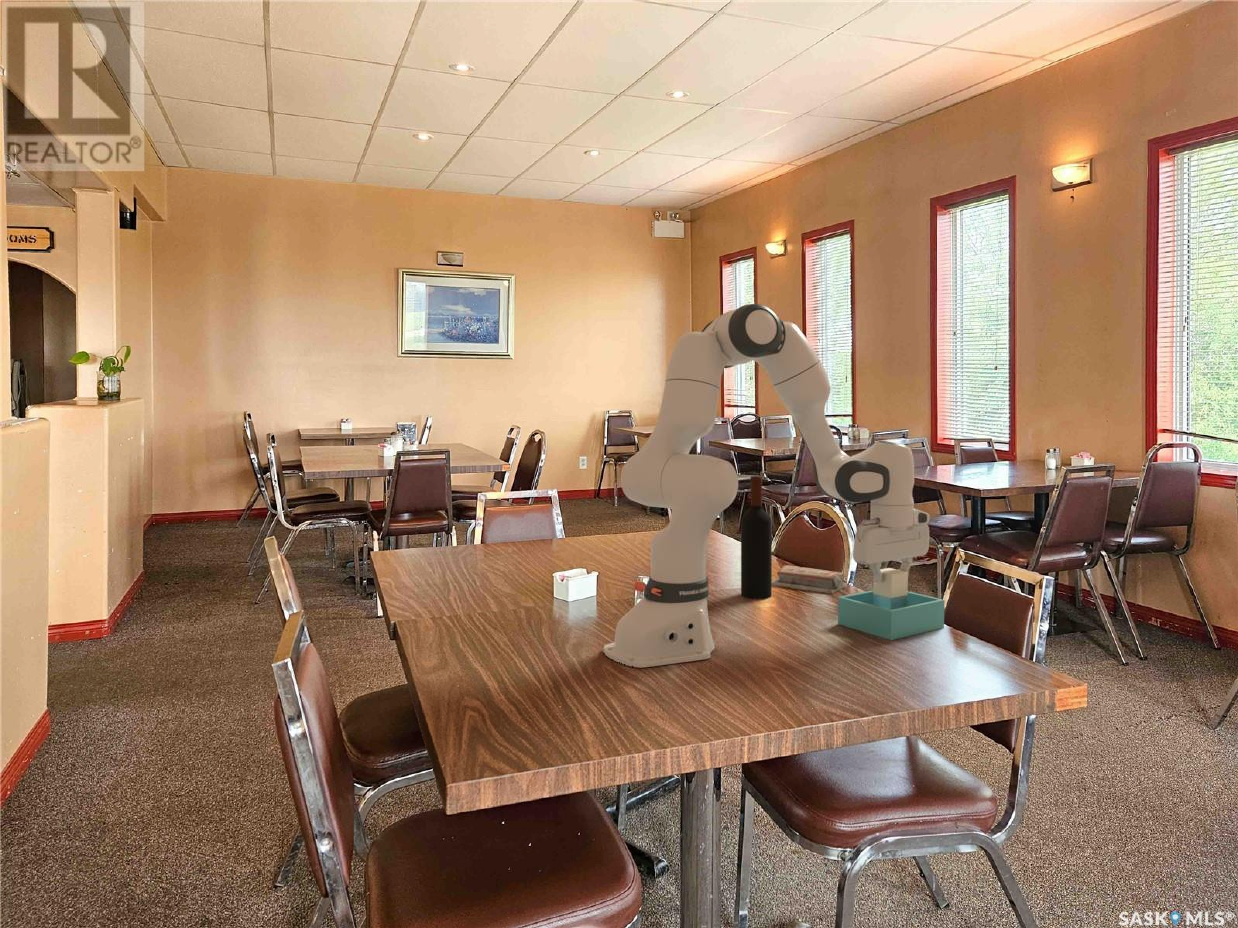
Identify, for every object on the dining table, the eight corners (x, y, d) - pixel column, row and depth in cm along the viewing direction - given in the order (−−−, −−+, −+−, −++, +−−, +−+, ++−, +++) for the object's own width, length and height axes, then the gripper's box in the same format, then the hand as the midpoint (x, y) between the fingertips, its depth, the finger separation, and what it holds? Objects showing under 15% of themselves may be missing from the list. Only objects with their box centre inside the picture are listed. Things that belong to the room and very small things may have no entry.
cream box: (891, 597, 178) (891, 574, 177) (873, 593, 182) (873, 570, 181) (907, 594, 180) (907, 571, 180) (889, 590, 184) (889, 567, 184)
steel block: (890, 625, 178) (891, 597, 178) (872, 620, 182) (872, 593, 182) (906, 621, 181) (907, 594, 180) (888, 616, 185) (888, 590, 184)
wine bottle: (737, 597, 208) (737, 477, 205) (745, 591, 215) (744, 474, 212) (768, 600, 205) (768, 478, 202) (774, 593, 212) (774, 475, 209)
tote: (891, 640, 171) (891, 611, 171) (837, 623, 183) (838, 597, 183) (943, 627, 180) (944, 599, 179) (889, 612, 192) (890, 587, 192)
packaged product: (848, 570, 218) (832, 576, 210) (848, 588, 218) (832, 595, 211) (785, 562, 229) (768, 568, 221) (785, 579, 229) (768, 586, 222)
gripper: (869, 522, 171) (868, 589, 173) (935, 514, 182) (933, 576, 183) (846, 518, 177) (845, 583, 178) (911, 510, 187) (910, 571, 189)
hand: (890, 579), depth 181 cm, fingers open, 6 cm apart
